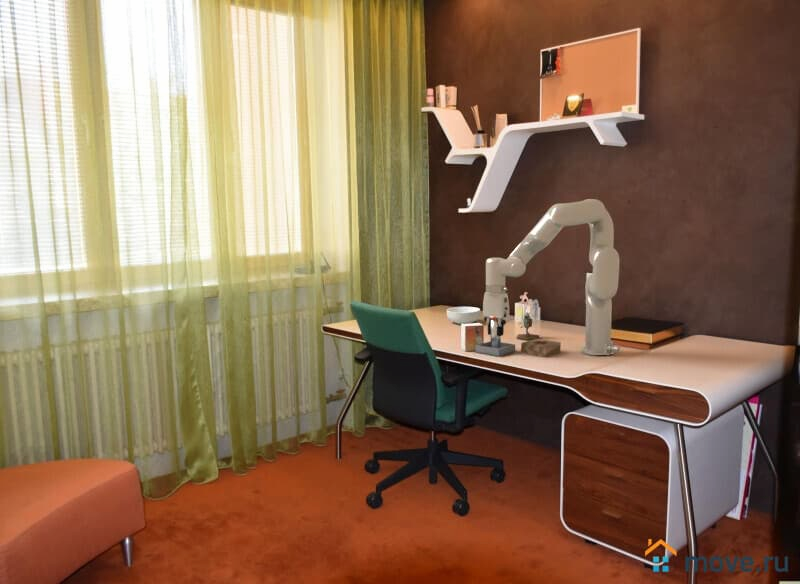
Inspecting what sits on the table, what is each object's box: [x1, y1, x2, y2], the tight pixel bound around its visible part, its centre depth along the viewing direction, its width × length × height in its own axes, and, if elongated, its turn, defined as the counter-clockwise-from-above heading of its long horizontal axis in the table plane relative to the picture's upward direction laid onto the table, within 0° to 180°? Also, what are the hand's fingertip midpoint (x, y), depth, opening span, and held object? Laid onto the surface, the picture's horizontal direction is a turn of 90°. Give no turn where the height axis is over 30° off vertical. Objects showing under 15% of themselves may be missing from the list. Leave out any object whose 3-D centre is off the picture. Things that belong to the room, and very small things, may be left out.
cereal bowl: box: [446, 306, 481, 325], centre depth 322 cm, size 17×17×7 cm
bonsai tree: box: [516, 311, 540, 342], centre depth 284 cm, size 11×9×12 cm
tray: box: [475, 340, 516, 358], centre depth 259 cm, size 11×11×3 cm
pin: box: [489, 316, 502, 349], centre depth 258 cm, size 5×5×13 cm
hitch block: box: [520, 338, 561, 358], centre depth 257 cm, size 11×11×4 cm
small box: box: [460, 322, 485, 352], centre depth 264 cm, size 8×6×10 cm
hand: (495, 334), depth 258 cm, fingers closed on pin, 3 cm apart
